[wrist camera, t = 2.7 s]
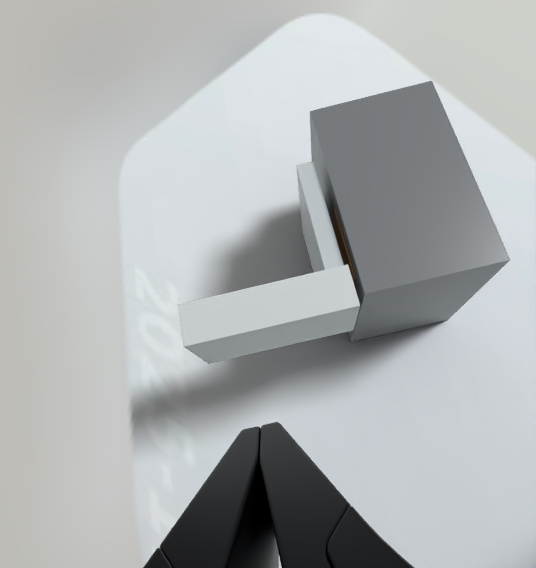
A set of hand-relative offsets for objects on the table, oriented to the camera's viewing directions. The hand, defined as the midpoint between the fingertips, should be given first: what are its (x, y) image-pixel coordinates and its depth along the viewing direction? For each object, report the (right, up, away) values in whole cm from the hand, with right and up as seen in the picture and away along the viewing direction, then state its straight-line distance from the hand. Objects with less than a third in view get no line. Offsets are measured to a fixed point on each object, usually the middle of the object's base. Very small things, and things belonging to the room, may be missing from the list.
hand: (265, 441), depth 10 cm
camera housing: (+6, +5, +14) cm, 16 cm away
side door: (0, +3, +13) cm, 13 cm away
